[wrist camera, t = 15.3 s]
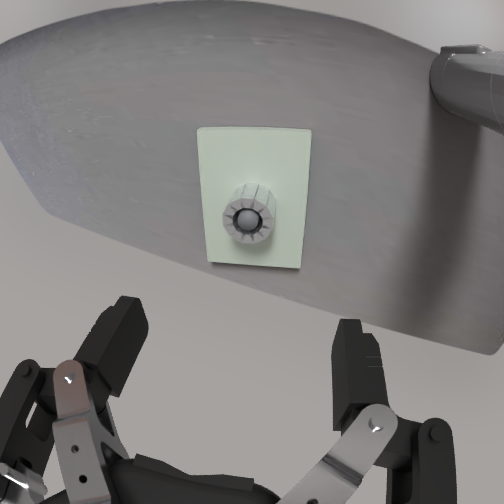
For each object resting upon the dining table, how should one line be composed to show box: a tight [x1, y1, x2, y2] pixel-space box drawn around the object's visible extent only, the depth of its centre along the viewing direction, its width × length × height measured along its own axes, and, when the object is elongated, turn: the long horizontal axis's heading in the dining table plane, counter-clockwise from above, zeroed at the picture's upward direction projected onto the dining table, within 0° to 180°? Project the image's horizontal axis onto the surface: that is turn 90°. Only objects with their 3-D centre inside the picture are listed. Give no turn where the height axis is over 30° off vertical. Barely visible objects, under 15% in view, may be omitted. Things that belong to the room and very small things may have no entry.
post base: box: [197, 127, 311, 268], centre depth 38 cm, size 20×14×7 cm
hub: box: [222, 183, 276, 244], centre depth 37 cm, size 6×6×5 cm
